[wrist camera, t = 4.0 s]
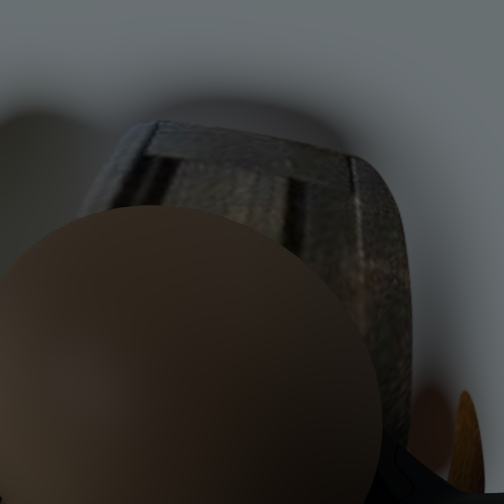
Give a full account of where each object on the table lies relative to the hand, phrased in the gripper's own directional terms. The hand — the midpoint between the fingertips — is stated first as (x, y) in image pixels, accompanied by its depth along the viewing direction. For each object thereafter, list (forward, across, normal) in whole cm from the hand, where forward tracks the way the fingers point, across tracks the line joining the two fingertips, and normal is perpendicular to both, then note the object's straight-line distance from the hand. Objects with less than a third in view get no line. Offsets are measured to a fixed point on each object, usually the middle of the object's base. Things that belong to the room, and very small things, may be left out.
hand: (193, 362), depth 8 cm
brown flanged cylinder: (+4, 0, +6) cm, 7 cm away
